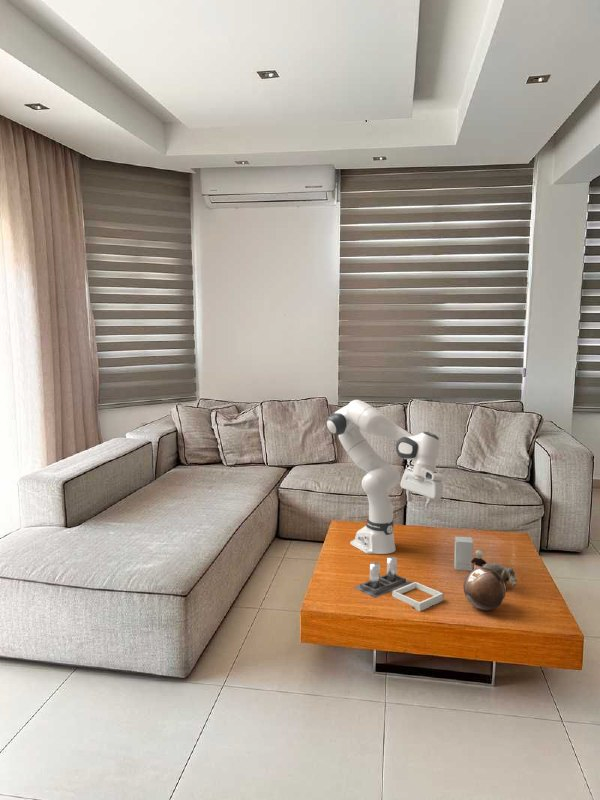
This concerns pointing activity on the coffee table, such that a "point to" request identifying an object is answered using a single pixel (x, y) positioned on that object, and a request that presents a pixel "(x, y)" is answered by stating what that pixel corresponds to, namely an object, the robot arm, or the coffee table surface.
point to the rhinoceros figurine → (503, 573)
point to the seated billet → (374, 575)
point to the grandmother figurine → (478, 560)
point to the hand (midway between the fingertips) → (417, 504)
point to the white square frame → (416, 605)
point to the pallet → (382, 586)
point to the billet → (391, 568)
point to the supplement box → (463, 553)
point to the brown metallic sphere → (484, 588)
